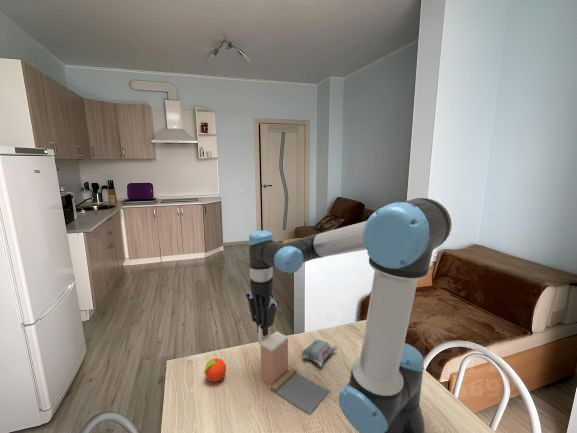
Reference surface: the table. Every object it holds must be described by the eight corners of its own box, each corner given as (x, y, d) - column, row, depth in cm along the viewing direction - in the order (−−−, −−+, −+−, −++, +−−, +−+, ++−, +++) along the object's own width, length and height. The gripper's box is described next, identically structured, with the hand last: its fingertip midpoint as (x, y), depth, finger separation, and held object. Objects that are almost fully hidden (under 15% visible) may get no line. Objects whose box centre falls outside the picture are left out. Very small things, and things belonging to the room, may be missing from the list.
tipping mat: (329, 391, 94) (329, 387, 93) (309, 415, 85) (309, 410, 85) (291, 371, 103) (291, 367, 102) (270, 390, 94) (270, 386, 94)
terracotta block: (287, 373, 102) (287, 336, 99) (272, 387, 96) (272, 348, 93) (276, 366, 105) (276, 331, 102) (261, 379, 99) (260, 342, 96)
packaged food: (337, 353, 112) (337, 342, 111) (320, 371, 103) (320, 359, 102) (317, 345, 117) (317, 334, 116) (300, 361, 108) (300, 349, 107)
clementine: (210, 391, 94) (209, 372, 92) (198, 381, 98) (197, 362, 97) (230, 377, 100) (229, 359, 98) (218, 368, 104) (217, 350, 103)
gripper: (284, 279, 96) (284, 344, 100) (255, 270, 103) (256, 330, 108) (268, 287, 90) (269, 355, 94) (239, 276, 98) (241, 340, 102)
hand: (262, 342), depth 101 cm, fingers closed
